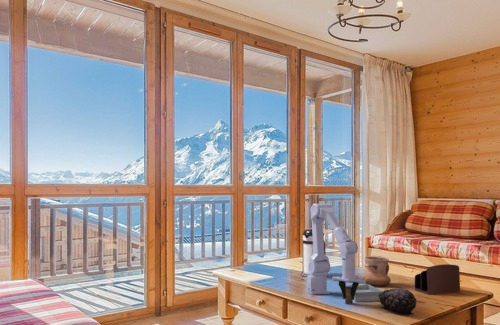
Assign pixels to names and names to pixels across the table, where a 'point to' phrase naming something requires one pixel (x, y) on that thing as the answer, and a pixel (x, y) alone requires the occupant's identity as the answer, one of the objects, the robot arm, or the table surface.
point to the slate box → (366, 293)
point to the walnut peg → (348, 295)
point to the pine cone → (398, 301)
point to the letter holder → (438, 279)
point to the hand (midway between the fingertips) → (348, 298)
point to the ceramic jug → (377, 271)
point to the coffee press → (308, 249)
